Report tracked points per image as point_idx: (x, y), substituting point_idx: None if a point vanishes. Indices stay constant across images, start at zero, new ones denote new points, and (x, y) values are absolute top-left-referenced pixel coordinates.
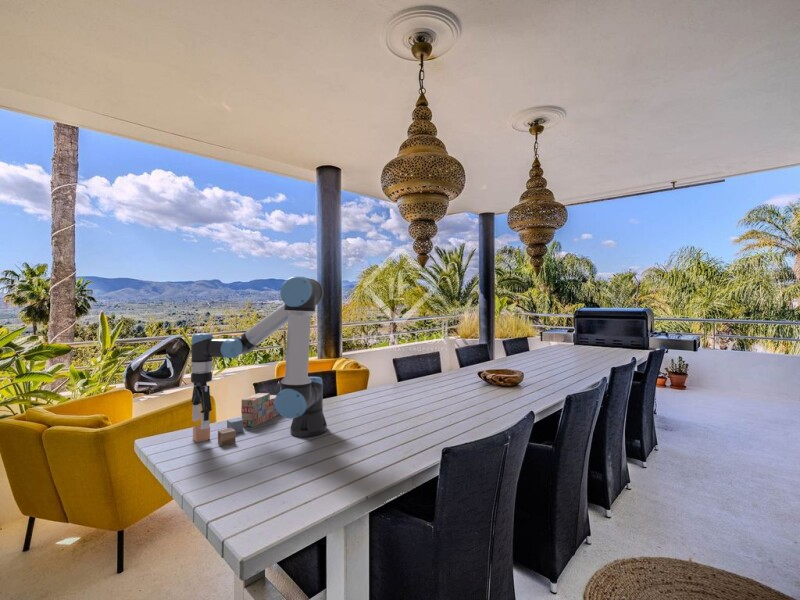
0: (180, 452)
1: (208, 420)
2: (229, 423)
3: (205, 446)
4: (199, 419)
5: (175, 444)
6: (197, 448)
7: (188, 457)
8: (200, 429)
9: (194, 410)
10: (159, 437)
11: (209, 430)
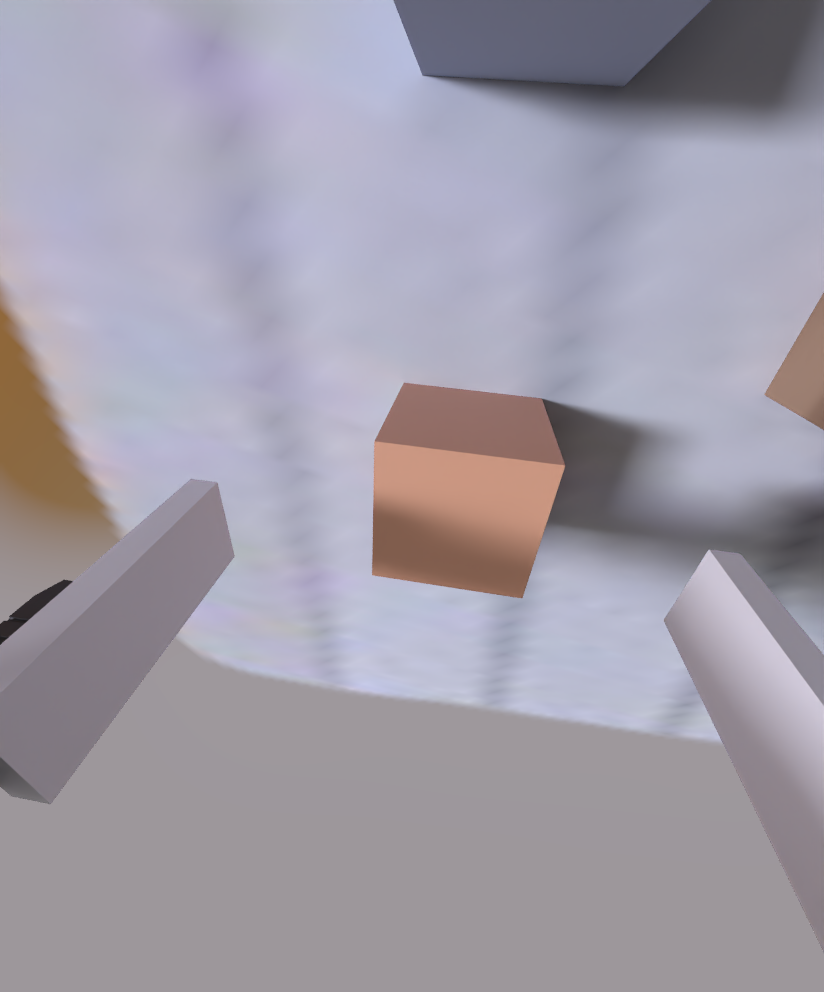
0: (630, 638)
1: (817, 675)
2: (586, 7)
3: (710, 505)
4: (211, 498)
5: (425, 600)
6: (680, 557)
7: None
8: (532, 558)
9: (124, 679)
10: None
11: (554, 446)
